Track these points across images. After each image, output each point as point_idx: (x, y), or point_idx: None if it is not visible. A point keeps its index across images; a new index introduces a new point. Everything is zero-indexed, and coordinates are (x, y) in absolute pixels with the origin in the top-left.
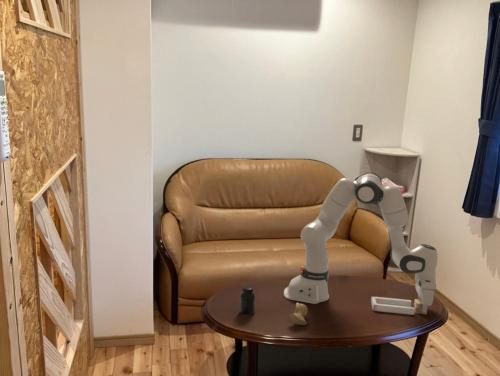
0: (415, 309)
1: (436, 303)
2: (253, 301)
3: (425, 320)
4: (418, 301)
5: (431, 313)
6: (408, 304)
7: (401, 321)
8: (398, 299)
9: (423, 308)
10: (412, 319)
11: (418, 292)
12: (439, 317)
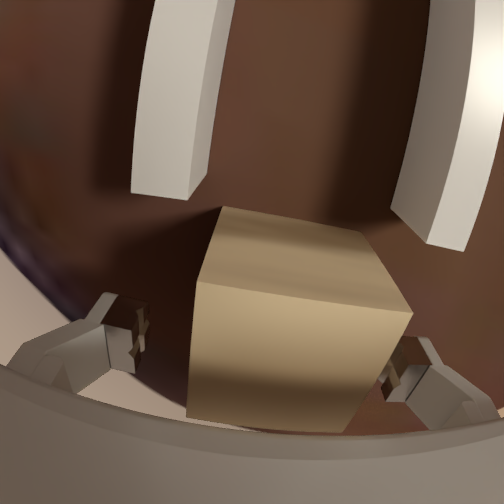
0: (237, 225)
1: (410, 429)
2: None
3: (59, 255)
4: (291, 344)
5: None
6: (414, 187)
7: (10, 4)
8: (496, 59)
9: (91, 321)
10: (47, 118)
11: (410, 480)
12: (161, 390)
